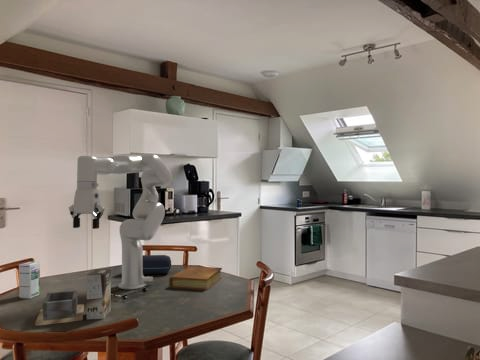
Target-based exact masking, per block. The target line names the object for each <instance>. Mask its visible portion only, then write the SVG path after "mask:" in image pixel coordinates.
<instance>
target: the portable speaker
mask: <svg viewBox="0 0 480 360" xmlns="http://www.w3.org/2000/svg"><path fill="white" fill-rule="evenodd" d="M171 268H172V260H171V257H170V256H169V255H166V254H147V255H146V254H143V275H164V274H168V273H170V271H171Z"/></svg>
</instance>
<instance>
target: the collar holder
mask: <svg viewBox="0 0 480 360" xmlns="http://www.w3.org/2000/svg"><path fill="white" fill-rule="evenodd" d="M78 292H79V291H78V290H77V289H76V290H66V291H55V292H47V293H46V296H45V298H44V300H43V303H42V308H41V309H40V311H39V313H38V315H37V318H36V320H35V323H34V325H35V327H38V326H47V325H53V324H54V325H55V324H60V323H61V324H62V323H70V322H71V323H72V322H77V321H83V319H84V309H85V304H82V303H81V304H78V298H79V297H78Z"/></svg>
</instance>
